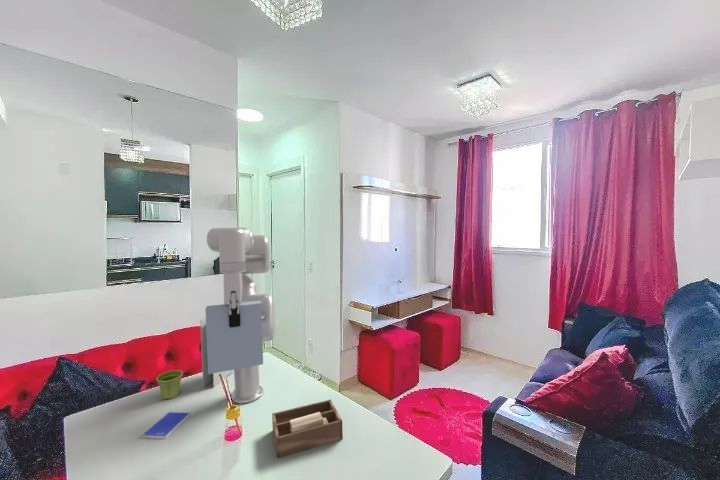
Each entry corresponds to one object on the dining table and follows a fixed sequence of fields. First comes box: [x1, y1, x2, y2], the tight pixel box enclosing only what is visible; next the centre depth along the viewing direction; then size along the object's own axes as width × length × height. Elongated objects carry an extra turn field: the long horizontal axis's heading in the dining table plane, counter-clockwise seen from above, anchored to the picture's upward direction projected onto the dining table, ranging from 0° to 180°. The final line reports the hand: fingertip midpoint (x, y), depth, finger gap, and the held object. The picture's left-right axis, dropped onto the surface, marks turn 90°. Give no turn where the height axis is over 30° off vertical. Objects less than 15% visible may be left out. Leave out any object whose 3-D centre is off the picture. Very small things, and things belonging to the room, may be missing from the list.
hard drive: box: [141, 411, 190, 439], centre depth 106 cm, size 2×8×12 cm
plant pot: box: [155, 369, 184, 400], centre depth 125 cm, size 9×9×9 cm
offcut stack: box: [290, 412, 328, 433], centre depth 97 cm, size 4×14×8 cm, turn 114°
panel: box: [204, 301, 264, 374], centre depth 95 cm, size 4×16×20 cm, turn 112°
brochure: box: [199, 317, 234, 388], centre depth 138 cm, size 14×6×30 cm, turn 168°
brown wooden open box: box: [271, 399, 344, 459], centre depth 100 cm, size 13×21×6 cm, turn 112°
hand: (235, 323), depth 95 cm, fingers closed on panel, 4 cm apart
